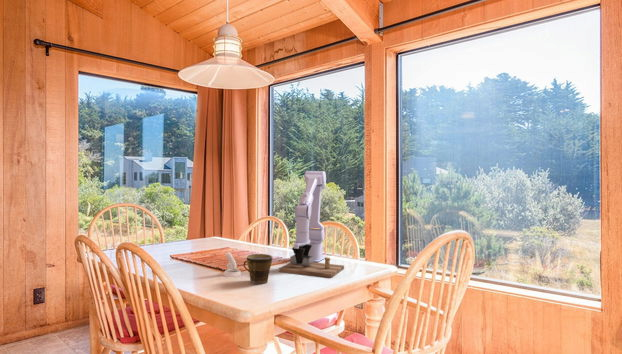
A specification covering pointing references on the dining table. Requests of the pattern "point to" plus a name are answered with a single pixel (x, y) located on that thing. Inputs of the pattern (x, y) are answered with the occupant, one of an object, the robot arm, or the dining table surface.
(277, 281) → the dining table surface
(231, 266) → the hook
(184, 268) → the dining table surface
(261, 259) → the ceramic cup
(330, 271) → the keeper board
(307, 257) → the silver rectangular frame
